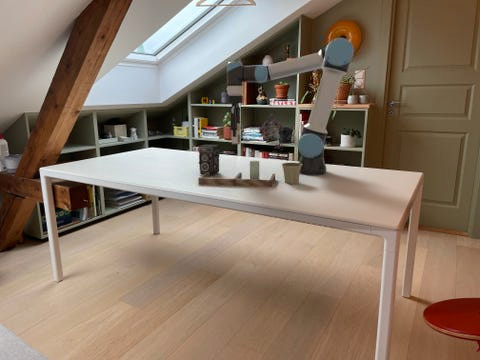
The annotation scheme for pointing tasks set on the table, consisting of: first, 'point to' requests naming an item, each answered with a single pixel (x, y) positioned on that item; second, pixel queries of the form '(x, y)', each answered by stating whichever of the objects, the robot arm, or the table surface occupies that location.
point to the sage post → (254, 170)
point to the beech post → (238, 134)
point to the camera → (209, 159)
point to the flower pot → (291, 172)
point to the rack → (235, 181)
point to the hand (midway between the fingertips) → (236, 142)
